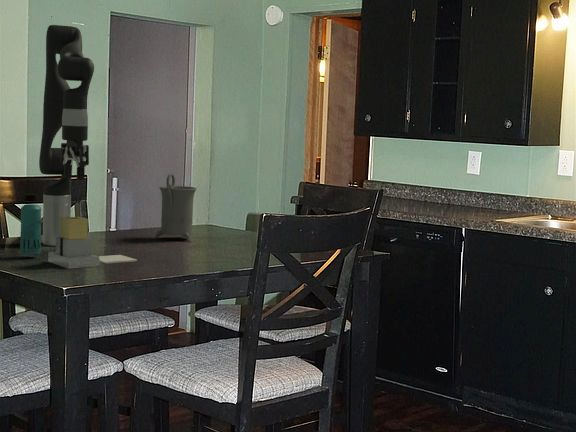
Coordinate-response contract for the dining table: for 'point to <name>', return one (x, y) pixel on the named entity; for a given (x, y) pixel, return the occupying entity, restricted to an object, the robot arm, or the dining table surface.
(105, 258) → the pad
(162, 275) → the dining table surface
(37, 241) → the beverage bottle
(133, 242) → the dining table surface
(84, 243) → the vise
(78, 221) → the brass collar
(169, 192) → the grey looped tall container
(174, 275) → the dining table surface
